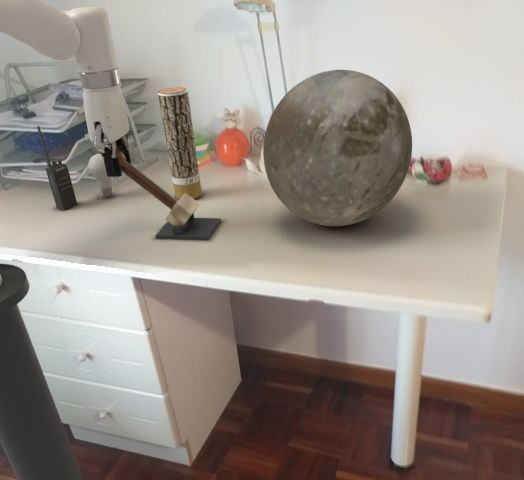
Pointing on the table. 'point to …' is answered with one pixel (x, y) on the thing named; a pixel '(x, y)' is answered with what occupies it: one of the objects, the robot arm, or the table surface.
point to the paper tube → (180, 141)
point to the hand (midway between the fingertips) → (119, 171)
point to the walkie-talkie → (59, 181)
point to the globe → (337, 148)
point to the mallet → (161, 194)
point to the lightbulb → (100, 174)
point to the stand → (190, 229)
